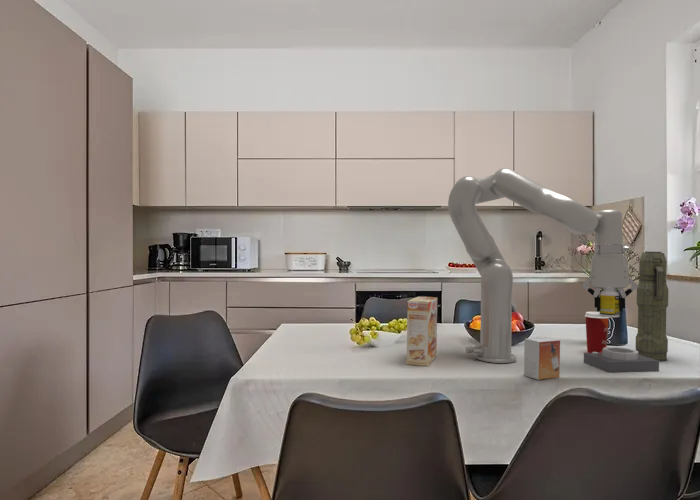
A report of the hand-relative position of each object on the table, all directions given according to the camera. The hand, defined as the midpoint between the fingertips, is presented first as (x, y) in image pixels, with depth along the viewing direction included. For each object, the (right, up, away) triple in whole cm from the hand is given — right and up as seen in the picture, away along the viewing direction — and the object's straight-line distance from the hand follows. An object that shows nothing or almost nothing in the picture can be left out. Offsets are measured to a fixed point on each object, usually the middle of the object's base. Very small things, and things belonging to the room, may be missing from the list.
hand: (609, 309), depth 147 cm
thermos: (+20, -18, +12) cm, 29 cm away
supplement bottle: (0, -2, 0) cm, 2 cm away
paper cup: (+5, -17, +18) cm, 26 cm away
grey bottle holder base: (+4, -17, +1) cm, 18 cm away
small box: (-25, -17, -11) cm, 33 cm away
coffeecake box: (-56, -17, +7) cm, 59 cm away
